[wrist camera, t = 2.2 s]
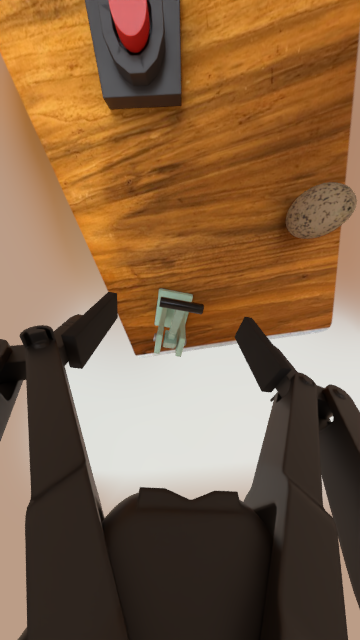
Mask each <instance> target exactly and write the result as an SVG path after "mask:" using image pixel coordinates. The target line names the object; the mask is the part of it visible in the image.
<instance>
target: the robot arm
mask: <svg viewBox="0 0 360 640" xmlns="http://www.w3.org/2000/svg"><path fill="white" fill-rule="evenodd" d="M117 317H118V315H117V293H112V292H108V293H107V294H106V295H105V296H104V297H102V298H101V299H100V300H99V301H98V302H97V303H96V304H95V305H94V306H93V307H91V308H90V309H89V310H88V311H87V312H86V313H85V314H84V315H79V314H78V315H75V316H73V317H71V318H69V319H68V320H67V321H66V322H64V323H63V324H62V326H60V327H58V329H56V330H55V331H54V332H53V329H52V328H51V327H49V326H43V325H42V326H34V327H30V328H28V329H26V330H24V331H23V332H22V333H21V334H20V338H21V340H22V342H23V344H24V345H17V346H10V345H9V344H8V342H7V341H6V340H2V339H0V441H1V438H2V435H3V433H4V430H5V428H6V425H7V422H8V420H9V417H10V414H11V411H12V409H13V406H14V404H15V401H16V398H17V396H18V393H19V390H20V387H21V385H22V382H23V380H27V404H28V427H29V451H30V472H31V473H30V474H31V500H30V503H29V505H28V507H27V511H26V521H25V537H26V538H25V539H26V585H27V586H26V587H27V628H26V629H25V630H24V632H23V633H22V635H21V636H20V637H19V639H18V640H348V635H347V625H346V615H345V605H344V595H343V585H342V574H341V564H340V554H339V544H338V538H339V542H340V546H341V549H342V553H343V557H344V560H345V564H346V568H347V571H348V574H349V578H350V581H351V584H352V587H353V591H354V594H355V597H356V600H357V602H358V605H359V608H360V412H359V410H358V408H357V407H356V405H355V404H354V402H353V400H352V399H351V397H350V396H349V395H348V394H347V393H346V392H345V391H344V390H342V389H341V388H339V387H337V386H334V385H328V386H327V387H326V388H322V387H320V386H317V385H316V384H315V383H314V381H313V380H312V379H311V378H309V377H308V376H306V375H304V374H302V373H298V372H297V371H296V370H295V368H294V367H293V366H292V365H291V363H290V362H289V361H288V360H287V359H286V357H285V356H284V355H283V354H282V352H281V351H280V350H279V349H277V348H276V347H275V346H273V344H272V343H271V342H270V340H269V339H268V338H267V337H266V335H265V334H264V333H263V332H262V330H261V329H260V328H259V327H258V325H257V324H256V323H255V322H254V320H253V319H252V318H249V317H244V319H243V321H242V323H241V325H240V327H239V329H238V331H237V333H236V335H235V339H236V341H237V343H238V345H239V347H240V349H241V351H242V353H243V355H244V356H245V359H246V361H247V363H248V364H249V366H250V369H251V371H252V372H253V375H254V377H255V379H256V381H257V383H258V385H259V387H260V389H261V391H264V392H272V391H273V389H274V388H276V389H277V391H278V392H277V393H276V395H275V396H274V397H273V398H272V399H271V401H273V400H274V402H273V406H272V410H271V414H270V418H269V421H268V425H267V430H266V433H265V437H264V441H263V445H262V449H261V453H260V456H259V460H258V464H257V468H256V472H255V476H254V480H253V484H252V487H251V489H250V491H249V492H248V494H247V496H246V498H245V500H244V502H242V501H240V500H239V497H238V492H229V491H213V492H211V493H208V494H206V495H203V496H201V497H198V498H196V499H193V500H189V499H187V498H185V497H182V496H180V495H178V494H176V493H174V492H172V491H169V490H167V489H164V488H144V487H141V488H140V489H139V493H136V494H134V495H131V496H129V497H128V498H126V499H124V500H123V501H122V502H120V503H119V504H118V505H117V506H116V507H115V508H114V509H113V510H112V511H111V512H110V513H109V514H108V515H107V516H106V518H104V515H103V511H102V507H101V503H100V499H99V496H98V492H97V489H96V485H95V481H94V478H93V474H92V470H91V466H90V463H89V459H88V455H87V451H86V447H85V443H84V439H83V436H82V432H81V428H80V424H79V420H78V416H77V413H76V409H75V405H74V402H73V397H72V393H71V390H70V386H69V382H68V378H67V374H66V370H65V367H64V366H65V365H66V363H67V362H68V361H69V365H70V367H73V368H81V369H82V368H83V367H84V365H85V364H86V362H87V361H88V360H89V358H90V357H91V355H92V354H93V352H94V351H95V349H96V348H97V347H98V345H99V344H100V342H101V341H102V339H103V338H104V336H105V335H106V333H107V332H108V331H109V329H110V328H111V326H112V325H113V323H114V322H115V320H116V319H117ZM331 416H333V417H334V420H333V422H331V421H330V419H329V418H330V417H331ZM321 475H322V479H323V482H324V486H325V490H326V494H327V497H328V501H329V505H330V508H331V512H332V515H333V518H332V516H330V515H329V514H328V513H327V512H326V511H325V509H324V507H323V501H322V482H321V481H322V480H321Z"/></svg>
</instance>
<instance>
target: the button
mask: <svg viewBox="0 0 360 640" xmlns="http://www.w3.org/2000/svg"><path fill="white" fill-rule="evenodd" d="M109 7H110V11H111V14H112V17H113V20H114V24H115V27H116V30H117V33H118V36H119V38H120V40H121V42H122V44H123V45H124V47H125V48H126V49H127V50H129V51H130V52H132V53H138V52H140V51H142V50H143V48H144V47H145V45H146V43H147V41H148V37H149V30H150V20H149V12H148V5H147V0H109Z"/></svg>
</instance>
